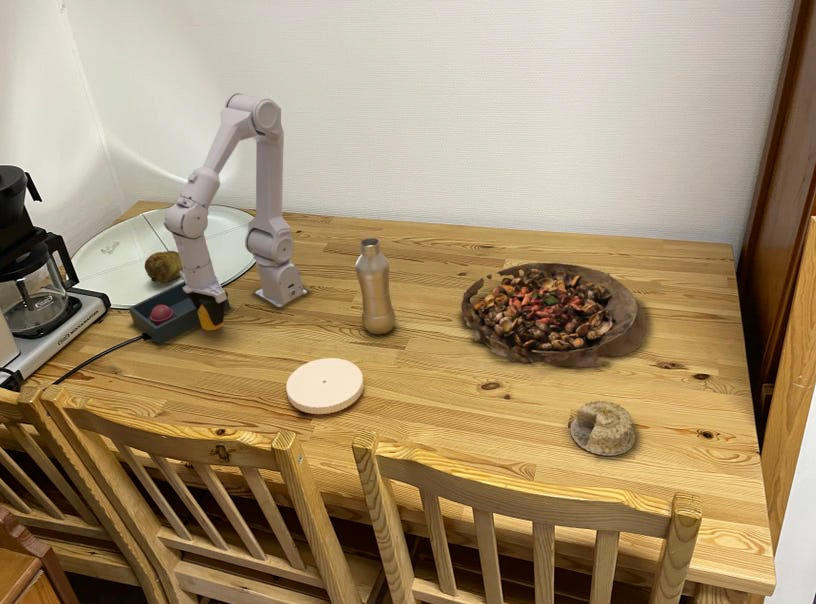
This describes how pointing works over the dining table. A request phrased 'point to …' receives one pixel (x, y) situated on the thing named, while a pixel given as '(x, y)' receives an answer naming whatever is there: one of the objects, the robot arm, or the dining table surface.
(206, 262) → the robot arm
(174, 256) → the potato
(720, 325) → the dining table surface
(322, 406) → the plastic lid
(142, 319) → the tote
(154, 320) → the dark red hollow cup
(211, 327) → the orange rounded piece
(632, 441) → the cake
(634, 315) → the food dish
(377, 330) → the plastic bottle
